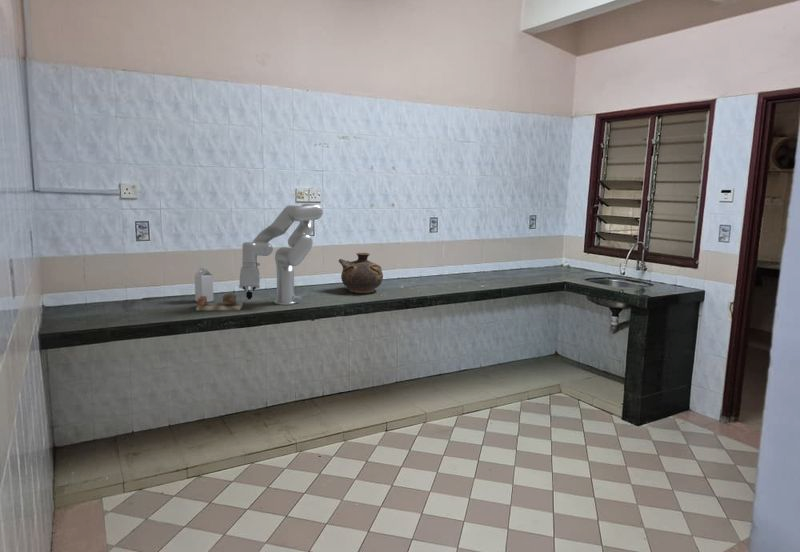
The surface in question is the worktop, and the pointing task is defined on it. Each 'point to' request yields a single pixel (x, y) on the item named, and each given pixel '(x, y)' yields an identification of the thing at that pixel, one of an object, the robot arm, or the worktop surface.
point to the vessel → (361, 274)
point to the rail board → (215, 305)
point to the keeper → (229, 299)
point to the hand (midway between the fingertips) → (249, 298)
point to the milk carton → (203, 284)
